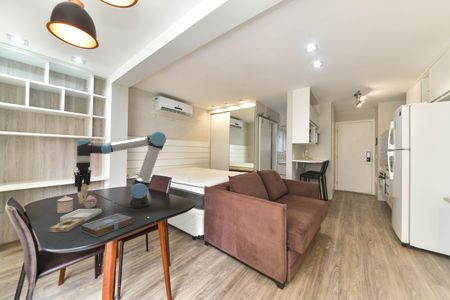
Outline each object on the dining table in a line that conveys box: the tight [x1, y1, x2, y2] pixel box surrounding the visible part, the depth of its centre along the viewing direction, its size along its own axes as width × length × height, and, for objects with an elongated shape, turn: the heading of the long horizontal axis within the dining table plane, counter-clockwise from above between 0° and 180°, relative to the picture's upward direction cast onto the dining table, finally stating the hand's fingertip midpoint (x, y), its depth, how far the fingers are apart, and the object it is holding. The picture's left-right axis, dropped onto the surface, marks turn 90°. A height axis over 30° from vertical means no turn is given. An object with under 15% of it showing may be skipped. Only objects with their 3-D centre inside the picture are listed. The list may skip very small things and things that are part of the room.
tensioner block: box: [48, 219, 84, 233], centre depth 103 cm, size 10×12×2 cm
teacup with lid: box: [56, 195, 74, 214], centre depth 131 cm, size 12×9×12 cm
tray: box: [59, 208, 103, 223], centre depth 120 cm, size 16×16×3 cm
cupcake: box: [83, 194, 98, 209], centre depth 140 cm, size 9×9×10 cm
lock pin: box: [77, 182, 87, 205], centre depth 120 cm, size 4×4×13 cm
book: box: [79, 212, 133, 238], centre depth 105 cm, size 21×16×5 cm
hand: (82, 195), depth 120 cm, fingers closed on lock pin, 4 cm apart
